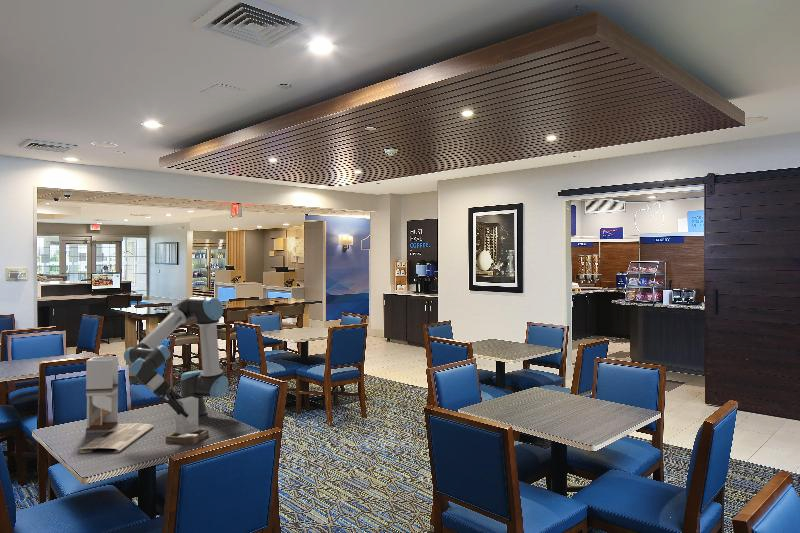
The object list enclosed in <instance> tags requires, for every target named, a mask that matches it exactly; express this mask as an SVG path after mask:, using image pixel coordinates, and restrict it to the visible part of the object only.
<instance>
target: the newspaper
mask: <svg viewBox="0 0 800 533" xmlns="http://www.w3.org/2000/svg"><path fill="white" fill-rule="evenodd" d="M153 428H154V425H153V424H151V423H139V422H136V423H135V422H134V423H133V422H132V423H120V424H118V425H117V426H115V427H114V428H112V429H111V430H109V431H107V432H103V434H101V435H100V436H97V437H96V438H94V439H93V440H91V441H89V442H88V443H87V444H85V445H84V446H82V447H81V448H80V447H79V449H77V453H79V454H80V453H82V454H84V453H85V454H86V453H88V454H89V453H92V452H93V451H95V450H96V449H114V451H113V453H118V454H119V453H121V451H123V450H125V448H127V447H128V446H130V445H131V444H132V443H134V442H135V441H136V440H138V439H139V438H141V437H142V436H144V435H145V434H146V433H148V432H149V431H150V430H151V429H153Z"/></svg>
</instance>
